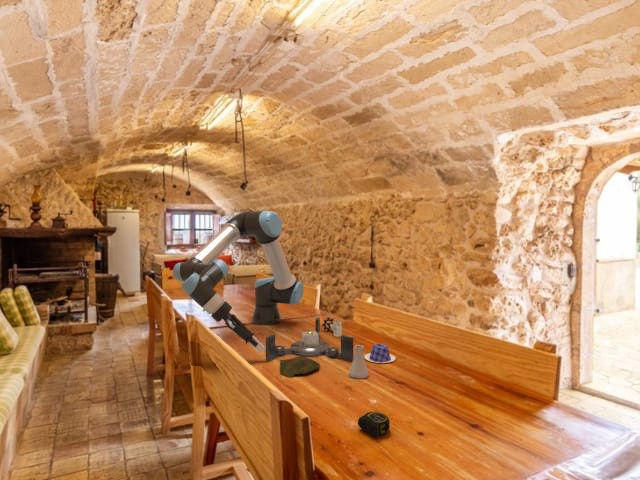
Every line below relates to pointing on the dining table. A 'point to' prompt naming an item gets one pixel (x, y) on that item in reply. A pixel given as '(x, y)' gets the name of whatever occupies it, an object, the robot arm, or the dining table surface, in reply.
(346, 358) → the tribrach
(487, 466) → the dining table surface
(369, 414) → the tape measure
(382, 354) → the pudding
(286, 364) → the pottery fragment
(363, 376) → the flask
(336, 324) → the valve
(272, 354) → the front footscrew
